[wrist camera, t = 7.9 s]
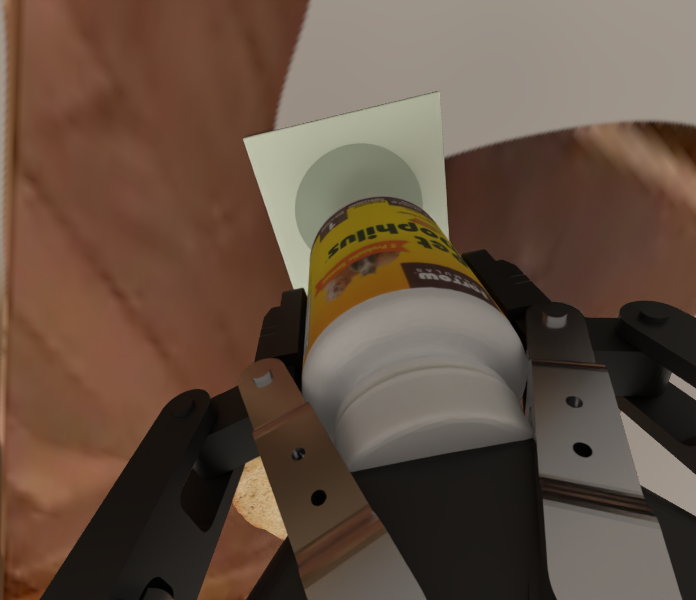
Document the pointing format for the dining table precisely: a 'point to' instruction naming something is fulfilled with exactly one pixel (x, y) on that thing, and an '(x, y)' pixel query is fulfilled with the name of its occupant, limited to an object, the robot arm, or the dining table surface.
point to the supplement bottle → (405, 341)
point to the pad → (348, 170)
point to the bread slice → (258, 499)
